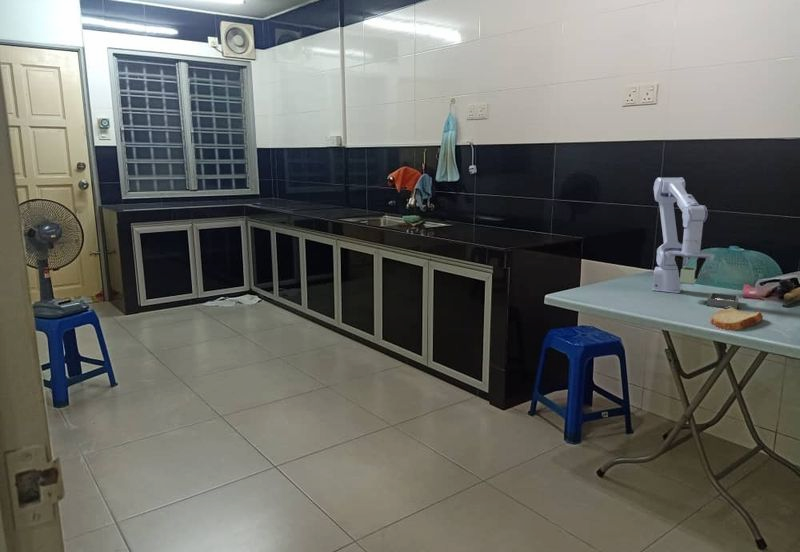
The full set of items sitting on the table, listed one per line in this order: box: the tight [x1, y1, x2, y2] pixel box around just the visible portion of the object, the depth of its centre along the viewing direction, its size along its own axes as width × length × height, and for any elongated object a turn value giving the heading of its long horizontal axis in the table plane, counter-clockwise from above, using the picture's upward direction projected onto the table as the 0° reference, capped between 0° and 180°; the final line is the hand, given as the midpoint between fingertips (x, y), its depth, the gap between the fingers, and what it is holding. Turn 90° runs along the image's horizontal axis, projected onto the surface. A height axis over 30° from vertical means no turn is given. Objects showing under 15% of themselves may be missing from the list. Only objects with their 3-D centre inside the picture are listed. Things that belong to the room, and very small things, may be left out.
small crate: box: [680, 266, 697, 286], centre depth 199 cm, size 4×7×5 cm, turn 146°
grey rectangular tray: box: [706, 292, 740, 310], centre depth 194 cm, size 9×11×2 cm
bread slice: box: [710, 308, 763, 332], centre depth 172 cm, size 18×18×4 cm
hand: (688, 277), depth 199 cm, fingers closed on small crate, 4 cm apart
